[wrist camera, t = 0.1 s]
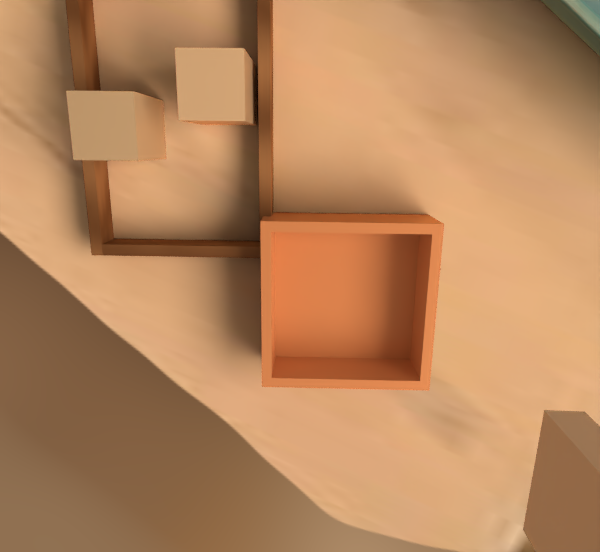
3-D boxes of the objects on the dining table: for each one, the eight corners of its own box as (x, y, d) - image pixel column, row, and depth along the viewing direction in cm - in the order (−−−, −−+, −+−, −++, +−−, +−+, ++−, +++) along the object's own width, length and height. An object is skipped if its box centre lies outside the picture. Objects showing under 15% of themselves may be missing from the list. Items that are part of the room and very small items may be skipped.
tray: (76, -49, 32) (59, -62, 30) (272, -48, 32) (269, -61, 30) (104, 248, 37) (91, 255, 35) (273, 251, 37) (271, 258, 35)
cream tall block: (198, 64, 34) (174, 47, 28) (255, 64, 34) (244, 48, 28) (200, 124, 35) (178, 120, 29) (256, 125, 35) (245, 121, 29)
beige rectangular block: (107, 99, 34) (65, 90, 29) (163, 100, 34) (133, 91, 29) (112, 157, 35) (73, 160, 30) (166, 158, 35) (138, 160, 30)
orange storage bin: (266, 212, 36) (260, 221, 32) (428, 214, 36) (443, 224, 32) (267, 359, 39) (261, 386, 35) (416, 363, 39) (429, 390, 35)
